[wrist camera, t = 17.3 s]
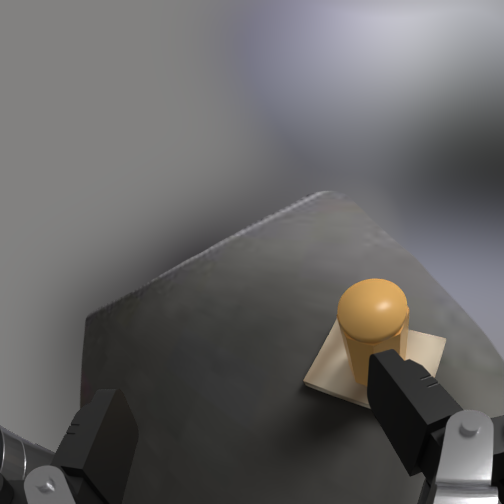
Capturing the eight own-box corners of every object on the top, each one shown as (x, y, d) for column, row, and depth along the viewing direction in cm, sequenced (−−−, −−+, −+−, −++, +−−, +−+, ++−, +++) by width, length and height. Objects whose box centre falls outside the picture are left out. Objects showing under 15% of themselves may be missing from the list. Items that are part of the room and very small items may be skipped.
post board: (305, 385, 35) (287, 353, 30) (341, 318, 40) (331, 276, 34) (417, 423, 26) (427, 398, 21) (444, 344, 31) (455, 303, 26)
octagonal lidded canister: (341, 377, 32) (325, 325, 25) (363, 333, 35) (353, 272, 28) (391, 394, 29) (393, 345, 22) (410, 347, 31) (415, 286, 25)
